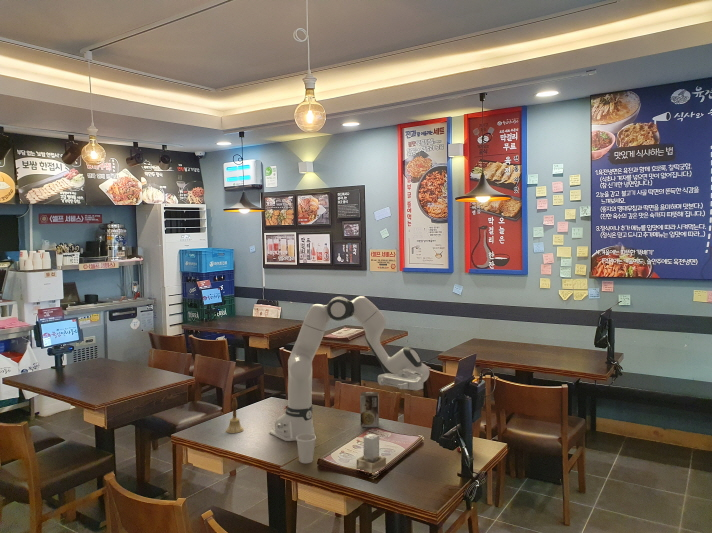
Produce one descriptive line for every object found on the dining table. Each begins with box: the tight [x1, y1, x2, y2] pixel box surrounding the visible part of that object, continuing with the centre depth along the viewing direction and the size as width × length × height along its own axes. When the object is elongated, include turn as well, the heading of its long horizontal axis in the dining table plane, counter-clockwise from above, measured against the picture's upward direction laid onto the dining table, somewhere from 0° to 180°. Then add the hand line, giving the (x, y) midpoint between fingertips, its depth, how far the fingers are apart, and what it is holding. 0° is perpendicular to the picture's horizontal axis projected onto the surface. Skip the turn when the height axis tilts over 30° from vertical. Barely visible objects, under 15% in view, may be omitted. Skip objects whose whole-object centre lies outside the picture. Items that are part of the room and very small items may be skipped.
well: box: [356, 455, 387, 473], centre depth 210 cm, size 8×8×4 cm
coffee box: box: [359, 391, 380, 428], centre depth 262 cm, size 9×6×16 cm
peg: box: [363, 433, 380, 463], centre depth 209 cm, size 4×4×13 cm
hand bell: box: [225, 397, 244, 434], centre depth 254 cm, size 8×8×16 cm
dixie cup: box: [296, 434, 317, 464], centre depth 218 cm, size 8×8×10 cm
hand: (389, 385), depth 225 cm, fingers open, 8 cm apart
